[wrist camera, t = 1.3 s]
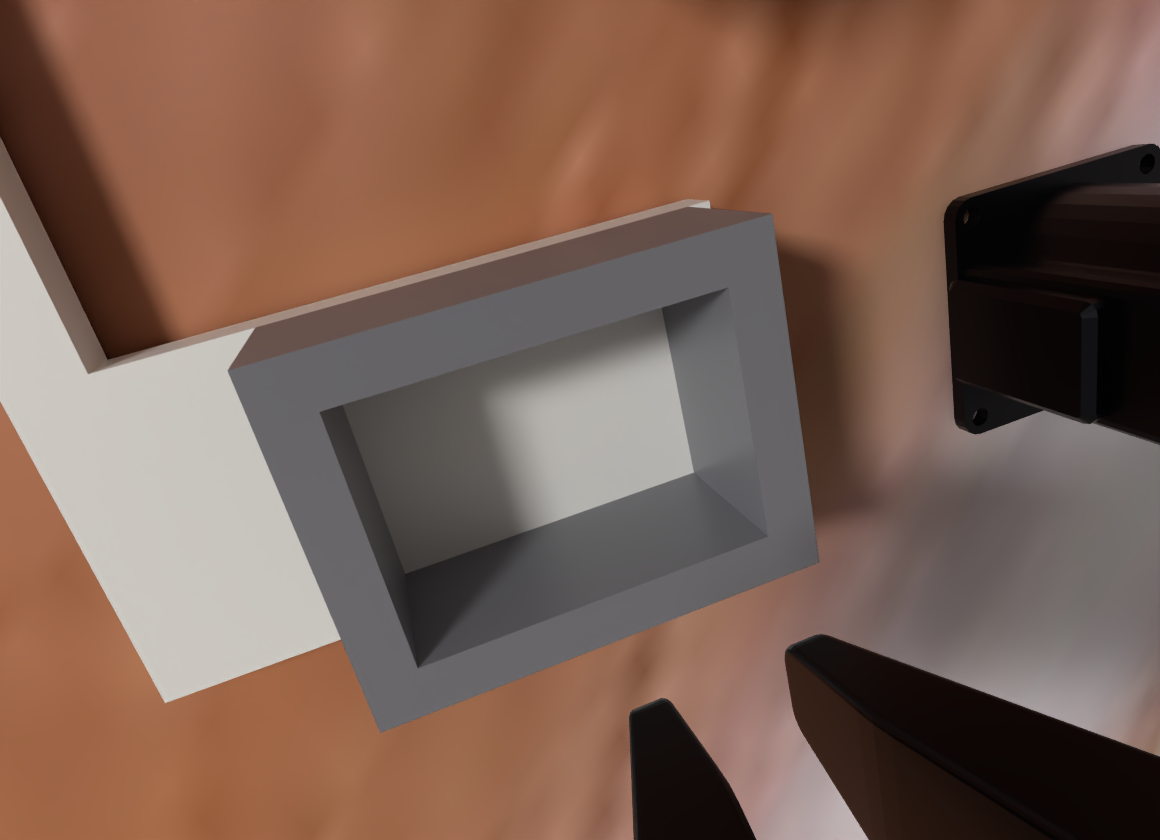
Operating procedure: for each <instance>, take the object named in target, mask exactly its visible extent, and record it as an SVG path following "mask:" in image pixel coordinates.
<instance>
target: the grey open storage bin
mask: <svg viewBox="0 0 1160 840" xmlns="http://www.w3.org/2000/svg"><path fill="white" fill-rule="evenodd" d="M0 402H1V403H2V405H3V407H4V409H5V411H6V413H7V414H8V416H9V418H10V420H11V422H12V424H13V425H14V427H15V429H16V431H17V433H18V435H19V436H20V438H21V440H22V442H23V444H24V446H25V447H26V449H27V451H28V453H29V455H30V457H31V458H32V460H33V462H34V464H35V466H36V467H37V469H38V471H39V473H40V475H41V477H42V478H43V480H44V482H45V484H46V486H47V488H48V489H49V491H50V493H51V495H52V497H53V499H54V500H55V502H56V504H57V506H58V508H59V510H60V511H61V513H62V515H63V517H64V519H65V521H66V522H67V524H68V526H69V528H70V530H71V532H72V533H73V535H74V537H75V539H76V541H77V543H78V544H79V546H80V548H81V550H82V552H83V553H84V555H85V557H86V559H87V561H88V563H89V564H90V566H91V568H92V570H93V572H94V574H95V575H96V577H97V579H98V581H99V583H100V585H101V586H102V588H103V590H104V592H105V594H106V596H107V597H108V599H109V601H110V603H111V605H112V607H113V608H114V610H115V612H116V614H117V616H118V618H119V619H120V621H121V623H122V625H123V627H124V629H125V630H126V632H127V634H128V636H129V638H130V639H131V641H132V643H133V645H134V647H135V649H136V650H137V652H138V654H139V656H140V658H141V660H142V661H143V663H144V665H145V667H146V669H147V671H148V672H149V674H150V676H151V678H152V680H153V682H154V683H155V685H156V687H157V689H158V691H159V693H160V694H161V696H162V698H163V700H164V702H165V703H167V702H169V701H172V700H175V699H178V698H180V697H183V696H186V695H189V694H191V693H194V692H197V691H200V690H203V689H205V688H208V687H211V686H214V685H216V684H219V683H222V682H225V681H227V680H230V679H233V678H236V677H238V676H241V675H244V674H247V673H249V672H252V671H255V670H258V669H261V668H263V667H266V666H269V665H272V664H274V663H277V662H280V661H283V660H285V659H288V658H291V657H294V656H296V655H299V654H302V653H305V652H307V651H310V650H313V649H316V648H319V647H321V646H324V645H327V644H330V643H332V642H335V641H338V640H341V641H342V643H343V645H344V648H345V650H346V653H347V655H348V657H349V660H350V662H351V664H352V667H353V669H354V671H355V674H356V676H357V679H358V681H359V683H360V686H361V688H362V690H363V693H364V695H365V698H366V700H367V702H368V705H369V707H370V709H371V712H372V714H373V716H374V719H375V721H376V724H377V726H378V728H379V731H380V733H381V732H384V731H386V730H389V729H392V728H394V727H397V726H399V725H402V724H404V723H407V722H410V721H412V720H415V719H417V718H420V717H422V716H425V715H428V714H430V713H433V712H435V711H438V710H440V709H443V708H446V707H448V706H451V705H453V704H456V703H458V702H461V701H464V700H466V699H469V698H471V697H474V696H476V695H479V694H482V693H484V692H487V691H489V690H492V689H494V688H497V687H500V686H502V685H505V684H507V683H510V682H513V681H515V680H518V679H520V678H523V677H525V676H528V675H531V674H533V673H536V672H538V671H541V670H543V669H546V668H549V667H551V666H554V665H556V664H559V663H561V662H564V661H567V660H569V659H572V658H574V657H577V656H579V655H582V654H585V653H587V652H590V651H592V650H595V649H597V648H600V647H603V646H605V645H608V644H610V643H613V642H615V641H618V640H621V639H623V638H626V637H628V636H631V635H633V634H636V633H639V632H641V631H644V630H646V629H649V628H651V627H654V626H657V625H659V624H662V623H664V622H667V621H669V620H672V619H675V618H677V617H680V616H682V615H685V614H688V613H690V612H693V611H695V610H698V609H700V608H703V607H706V606H708V605H711V604H713V603H716V602H718V601H721V600H724V599H726V598H729V597H731V596H734V595H736V594H739V593H742V592H744V591H747V590H749V589H752V588H754V587H757V586H760V585H762V584H765V583H767V582H770V581H772V580H775V579H778V578H780V577H783V576H785V575H788V574H790V573H793V572H796V571H798V570H801V569H803V568H806V567H808V566H811V565H814V564H816V563H819V556H818V549H817V541H816V534H815V527H814V519H813V512H812V504H811V497H810V490H809V482H808V475H807V467H806V460H805V453H804V445H803V438H802V430H801V423H800V415H799V408H798V401H797V393H796V386H795V378H794V371H793V364H792V356H791V349H790V341H789V334H788V327H787V319H786V312H785V304H784V297H783V290H782V282H781V275H780V267H779V260H778V253H777V245H776V238H775V230H774V223H773V216H772V214H770V213H758V212H746V211H734V210H722V209H711V208H710V202H709V201H707V200H691V199H685V200H682V201H678V202H674V203H671V204H667V205H664V206H660V207H656V208H653V209H649V210H646V211H642V212H638V213H635V214H631V215H628V216H624V217H620V218H617V219H613V220H610V221H606V222H602V223H599V224H595V225H592V226H588V227H584V228H581V229H577V230H574V231H570V232H566V233H563V234H559V235H556V236H552V237H548V238H545V239H541V240H538V241H534V242H530V243H527V244H523V245H520V246H516V247H512V248H509V249H505V250H502V251H498V252H494V253H491V254H487V255H484V256H480V257H476V258H473V259H469V260H466V261H462V262H458V263H455V264H451V265H448V266H444V267H440V268H437V269H433V270H430V271H426V272H422V273H419V274H415V275H411V276H408V277H404V278H401V279H397V280H393V281H390V282H386V283H383V284H379V285H375V286H372V287H368V288H365V289H361V290H357V291H354V292H350V293H347V294H343V295H339V296H336V297H332V298H329V299H325V300H321V301H318V302H314V303H311V304H307V305H303V306H300V307H296V308H293V309H289V310H285V311H282V312H278V313H275V314H271V315H267V316H264V317H260V318H257V319H253V320H249V321H246V322H242V323H239V324H235V325H231V326H228V327H224V328H221V329H217V330H213V331H210V332H206V333H203V334H199V335H195V336H192V337H188V338H185V339H181V340H177V341H174V342H170V343H167V344H163V345H159V346H156V347H152V348H148V349H145V350H141V351H138V352H134V353H130V354H127V355H123V356H120V357H116V358H112V359H109V360H107V358H106V356H105V354H104V351H103V349H102V347H101V345H100V343H99V341H98V339H97V337H96V335H95V333H94V331H93V329H92V327H91V324H90V322H89V320H88V318H87V316H86V314H85V312H84V310H83V308H82V306H81V304H80V302H79V299H78V297H77V295H76V293H75V291H74V289H73V287H72V285H71V283H70V281H69V279H68V277H67V275H66V272H65V270H64V268H63V266H62V264H61V262H60V260H59V258H58V256H57V254H56V252H55V250H54V247H53V245H52V243H51V241H50V239H49V237H48V235H47V233H46V231H45V229H44V227H43V225H42V223H41V220H40V218H39V216H38V214H37V212H36V210H35V208H34V206H33V204H32V202H31V200H30V198H29V196H28V193H27V191H26V189H25V187H24V185H23V183H22V181H21V179H20V177H19V175H18V173H17V171H16V168H15V166H14V164H13V162H12V160H11V158H10V156H9V154H8V152H7V150H6V148H5V146H4V144H3V141H2V139H1V137H0Z"/></svg>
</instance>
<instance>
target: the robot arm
mask: <svg viewBox="0 0 1160 840" xmlns="http://www.w3.org/2000/svg"><path fill="white" fill-rule="evenodd" d="M1140 162H1141V163H1140ZM1139 166H1140V167H1139ZM967 210H968V213H969V216H968V220H967V222H966V223H965V224H964V221H963V219H964V214H965V213H966V211H967ZM944 236H945V254H946V273H947V291H948V309H949V328H950V346H951V364H952V383H953V401H954V419H955V423H956V425H957V426H958V427H959V428H960V429H962V430H965V431H967V432H970V433H973V434H981V433H983V432H986V431H989V430H992V429H994V428H997V427H1000V426H1002V425H1005V424H1008V423H1011V422H1013V421H1016V420H1019V419H1021V418H1024V417H1027V416H1030V415H1032V414H1035V413H1038V412H1040V411H1043V410H1045V411H1048V412H1051V413H1054V414H1057V415H1060V416H1063V417H1066V418H1069V419H1072V420H1075V421H1078V422H1081V423H1084V424H1091V423H1095V424H1098V425H1101V426H1104V427H1107V428H1110V429H1113V430H1116V431H1119V432H1122V433H1125V434H1128V435H1131V436H1134V437H1137V438H1140V439H1143V440H1146V441H1149V442H1152V443H1155V444H1158V445H1160V148H1159V147H1158V146H1156V145H1155V144H1141V145H1131V146H1128V147H1125V148H1121V149H1118V150H1115V151H1111V152H1108V153H1104V154H1101V155H1098V156H1094V157H1091V158H1088V159H1084V160H1081V161H1078V162H1074V163H1071V164H1068V165H1064V166H1061V167H1058V168H1054V169H1051V170H1048V171H1044V172H1041V173H1038V174H1034V175H1031V176H1028V177H1024V178H1021V179H1017V180H1014V181H1011V182H1007V183H1004V184H1001V185H997V186H994V187H991V188H987V189H984V190H981V191H977V192H974V193H971V194H967V195H964V196H961V197H958V198H956V199H955V200H953V201H952V202H951V203H950V204H949V206H948V207H947V209H946V212H945V215H944ZM976 411H977V414H976V416H975V418H974V419H973V415H974V413H975V412H976ZM972 419H973V420H972ZM785 665H786V671H787V677H788V683H789V689H790V695H791V701H792V707H793V712H794V715H795V718H796V721H797V723H798V726H799V728H800V730H801V732H802V733H803V735H804V737H805V738H806V740H807V742H808V743H809V745H810V746H811V748H812V750H813V751H814V753H815V754H816V756H817V758H818V759H819V761H820V762H821V764H822V766H823V767H824V769H825V770H826V772H827V774H828V775H829V777H830V778H831V780H832V782H833V783H834V785H835V786H836V788H837V790H838V791H839V793H840V794H841V796H842V798H843V799H844V801H845V802H846V804H847V806H848V807H849V809H850V810H851V812H852V814H853V815H854V817H855V818H856V820H857V822H858V823H859V825H860V826H861V828H862V830H863V831H864V833H865V834H866V836H867V838H868V839H869V840H1160V757H1159V756H1157V755H1154V754H1151V753H1149V752H1146V751H1143V750H1140V749H1138V748H1135V747H1132V746H1129V745H1127V744H1124V743H1121V742H1118V741H1116V740H1113V739H1110V738H1107V737H1105V736H1102V735H1099V734H1097V733H1094V732H1091V731H1088V730H1086V729H1083V728H1080V727H1077V726H1075V725H1072V724H1069V723H1066V722H1064V721H1061V720H1058V719H1055V718H1053V717H1050V716H1047V715H1045V714H1042V713H1039V712H1036V711H1034V710H1031V709H1028V708H1025V707H1023V706H1020V705H1017V704H1014V703H1012V702H1009V701H1006V700H1003V699H1001V698H998V697H995V696H993V695H990V694H987V693H984V692H982V691H979V690H976V689H973V688H971V687H968V686H965V685H962V684H960V683H957V682H954V681H951V680H949V679H946V678H943V677H941V676H938V675H935V674H932V673H930V672H927V671H924V670H921V669H919V668H916V667H913V666H910V665H908V664H905V663H902V662H899V661H897V660H894V659H891V658H889V657H886V656H883V655H880V654H878V653H875V652H872V651H869V650H867V649H864V648H861V647H858V646H856V645H853V644H850V643H847V642H845V641H842V640H839V639H837V638H834V637H831V636H828V635H823V634H819V635H814V636H812V637H810V638H807V639H805V640H802V641H800V642H797V643H795V644H792V645H790V646H789V647H788V648H787V649H786V651H785ZM629 729H630V754H631V780H632V806H633V832H634V840H756V838H755V836H754V834H753V831H752V829H751V827H750V825H749V823H748V821H747V819H746V817H745V814H744V812H743V810H742V808H741V806H740V804H739V802H738V800H737V798H736V796H735V794H734V792H733V790H732V788H731V787H730V785H729V783H728V782H727V780H726V779H725V777H724V776H723V774H722V773H721V771H720V770H719V768H718V767H717V765H716V764H715V762H714V761H713V760H712V758H711V757H710V755H709V754H708V753H707V751H706V750H705V748H704V747H703V746H702V744H701V743H700V741H699V740H698V739H697V737H696V736H695V734H694V733H693V732H692V730H691V729H690V727H689V726H688V725H687V723H686V722H685V720H684V719H683V718H682V716H681V715H680V713H679V712H678V711H677V709H676V708H675V706H674V705H673V704H672V702H671V701H669V700H668V699H665V698H661V699H658V700H656V701H653V702H651V703H648V704H646V705H643V706H641V707H639V708H636V709H634V710H632V712H631V713H630V716H629Z"/></svg>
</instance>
